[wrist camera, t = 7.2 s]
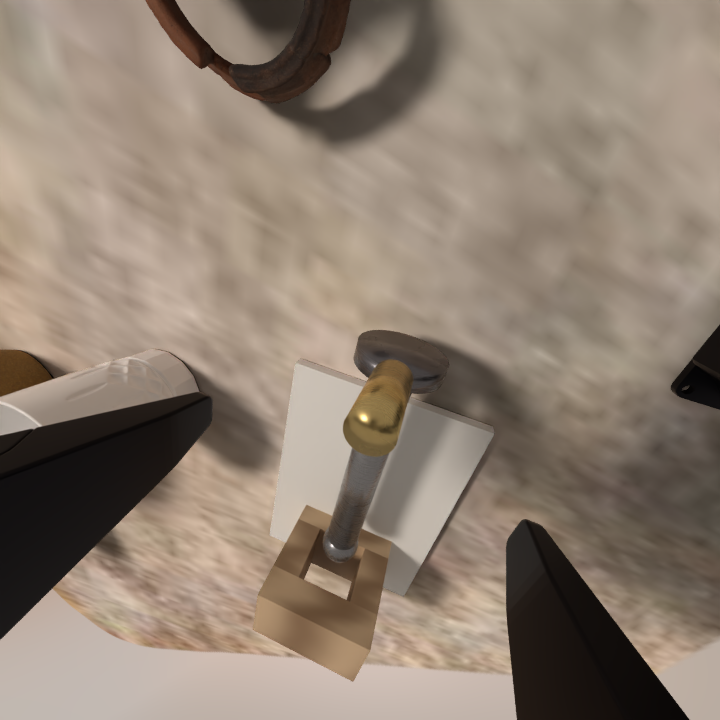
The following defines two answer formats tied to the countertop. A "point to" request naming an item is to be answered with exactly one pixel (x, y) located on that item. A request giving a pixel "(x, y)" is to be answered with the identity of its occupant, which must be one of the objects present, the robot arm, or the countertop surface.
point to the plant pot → (19, 371)
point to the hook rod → (377, 424)
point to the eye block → (323, 597)
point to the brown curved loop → (278, 76)
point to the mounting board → (400, 475)
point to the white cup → (97, 391)
